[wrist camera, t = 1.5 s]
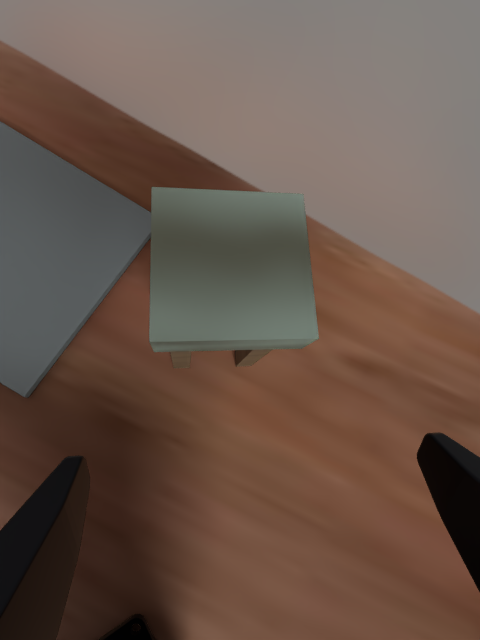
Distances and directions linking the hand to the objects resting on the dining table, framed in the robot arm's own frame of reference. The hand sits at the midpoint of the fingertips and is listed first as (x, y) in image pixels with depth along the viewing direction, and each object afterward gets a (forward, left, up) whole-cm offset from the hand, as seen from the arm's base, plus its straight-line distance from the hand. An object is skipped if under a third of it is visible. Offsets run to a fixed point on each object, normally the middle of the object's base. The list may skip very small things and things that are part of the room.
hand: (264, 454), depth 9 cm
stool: (+3, +6, -13) cm, 15 cm away
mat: (-6, +17, -13) cm, 23 cm away
